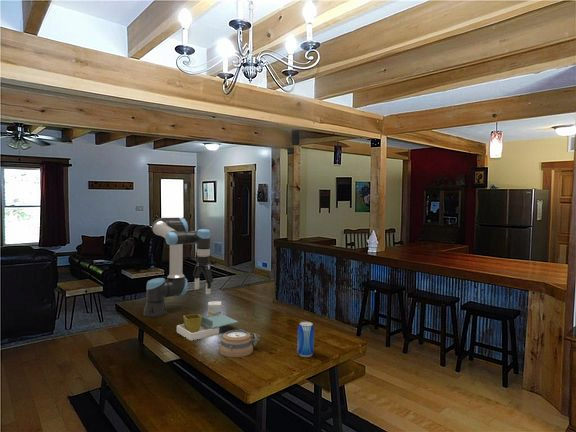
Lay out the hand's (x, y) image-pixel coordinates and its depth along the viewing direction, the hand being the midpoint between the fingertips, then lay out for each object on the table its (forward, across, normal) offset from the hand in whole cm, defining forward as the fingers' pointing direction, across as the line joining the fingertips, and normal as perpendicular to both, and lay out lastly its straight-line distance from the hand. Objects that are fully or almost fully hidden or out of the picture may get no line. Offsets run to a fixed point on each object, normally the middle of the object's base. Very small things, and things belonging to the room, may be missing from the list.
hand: (202, 291), depth 228 cm
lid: (+19, +3, +9) cm, 21 cm away
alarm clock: (+23, +38, +2) cm, 45 cm away
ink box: (+24, -11, +15) cm, 31 cm away
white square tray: (+23, +3, -4) cm, 24 cm away
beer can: (+22, +64, +25) cm, 72 cm away
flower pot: (+23, +1, -6) cm, 24 cm away
